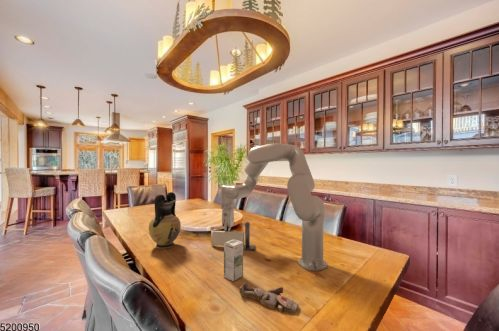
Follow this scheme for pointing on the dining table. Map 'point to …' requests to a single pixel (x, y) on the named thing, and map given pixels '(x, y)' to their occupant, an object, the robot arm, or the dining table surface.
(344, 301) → the dining table surface
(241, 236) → the gate leaf
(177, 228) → the amphora
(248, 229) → the gate post
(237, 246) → the syrup box
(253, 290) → the figurine
